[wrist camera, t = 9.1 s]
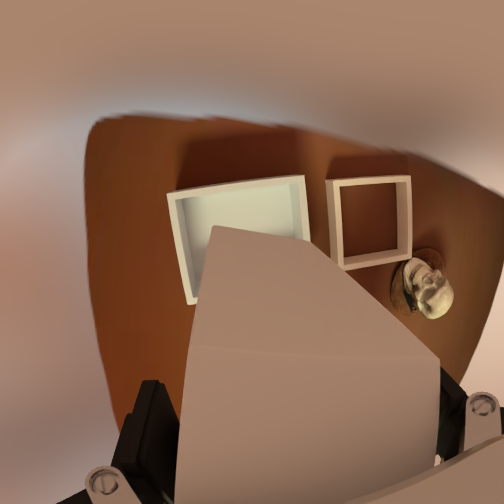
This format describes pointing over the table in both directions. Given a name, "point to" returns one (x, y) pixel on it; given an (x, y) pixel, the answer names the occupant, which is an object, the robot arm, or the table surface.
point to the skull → (422, 285)
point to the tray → (402, 222)
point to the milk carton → (298, 382)
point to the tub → (234, 217)
